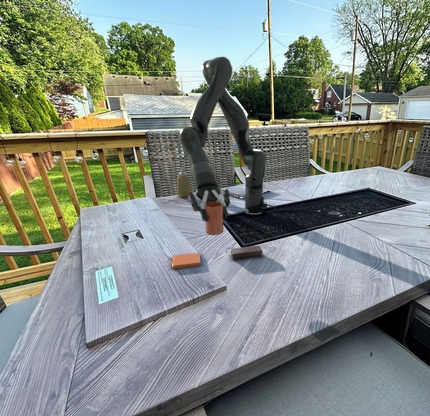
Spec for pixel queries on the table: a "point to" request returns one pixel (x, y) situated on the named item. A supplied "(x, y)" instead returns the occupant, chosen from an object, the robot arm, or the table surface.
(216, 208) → the pot
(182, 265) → the orange rectangular slab
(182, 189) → the squeeze bottle
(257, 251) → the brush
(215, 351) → the table surface
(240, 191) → the notebook
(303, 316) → the table surface
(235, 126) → the robot arm
